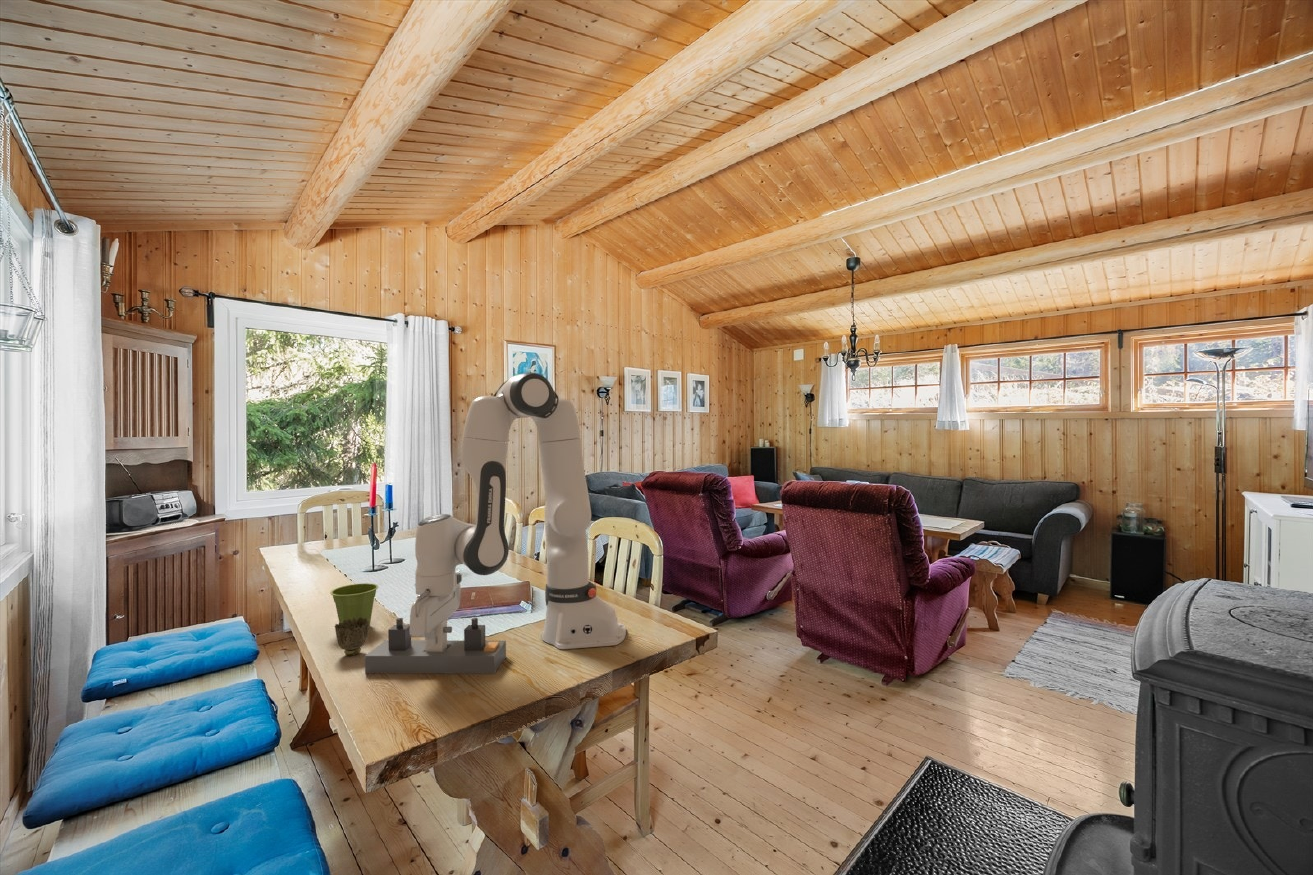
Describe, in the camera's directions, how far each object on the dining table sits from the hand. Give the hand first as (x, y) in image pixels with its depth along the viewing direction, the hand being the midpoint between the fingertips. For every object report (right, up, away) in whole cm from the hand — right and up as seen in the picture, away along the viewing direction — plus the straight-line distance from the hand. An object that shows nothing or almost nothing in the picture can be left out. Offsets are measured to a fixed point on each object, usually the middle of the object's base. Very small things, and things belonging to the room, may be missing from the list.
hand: (436, 641), depth 131 cm
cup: (-24, -6, +7) cm, 25 cm away
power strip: (0, -6, 0) cm, 6 cm away
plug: (0, -3, 0) cm, 3 cm away
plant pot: (-32, -5, +24) cm, 40 cm away
